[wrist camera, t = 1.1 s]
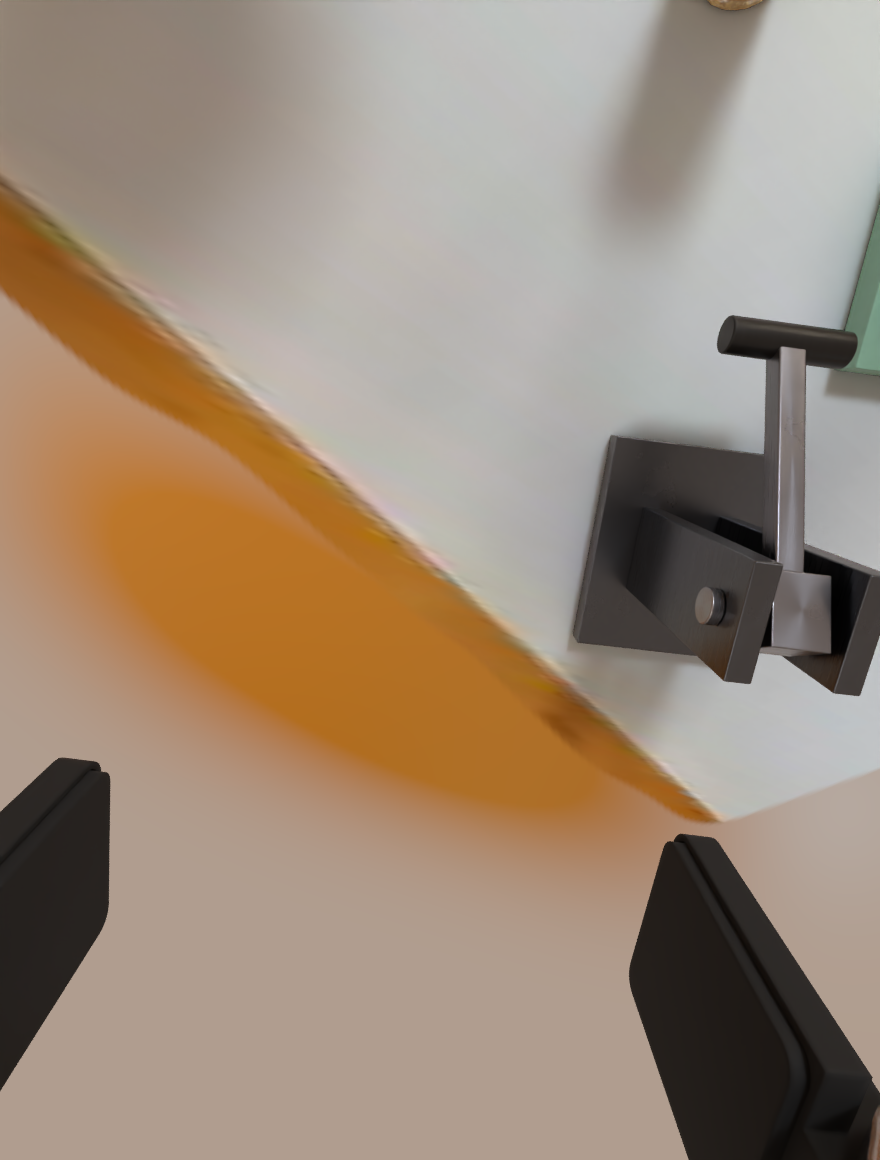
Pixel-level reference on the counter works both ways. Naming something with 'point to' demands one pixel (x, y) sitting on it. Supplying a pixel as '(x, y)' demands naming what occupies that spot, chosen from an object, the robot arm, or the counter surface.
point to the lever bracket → (707, 567)
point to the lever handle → (789, 471)
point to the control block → (867, 310)
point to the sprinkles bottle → (734, 4)
